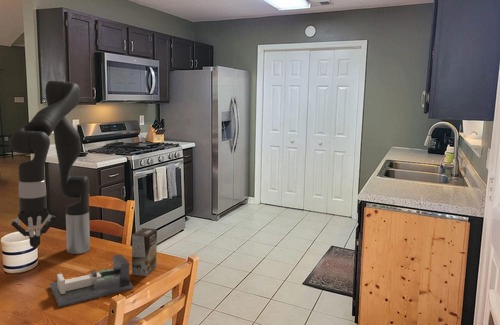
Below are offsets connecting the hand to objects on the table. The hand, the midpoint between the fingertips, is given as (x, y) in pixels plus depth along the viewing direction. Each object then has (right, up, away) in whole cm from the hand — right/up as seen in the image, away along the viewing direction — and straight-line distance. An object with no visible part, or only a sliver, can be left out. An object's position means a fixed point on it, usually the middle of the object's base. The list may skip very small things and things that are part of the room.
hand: (35, 246), depth 123 cm
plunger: (+10, -16, +10) cm, 22 cm away
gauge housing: (+13, -17, +13) cm, 25 cm away
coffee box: (+27, -16, +28) cm, 43 cm away
